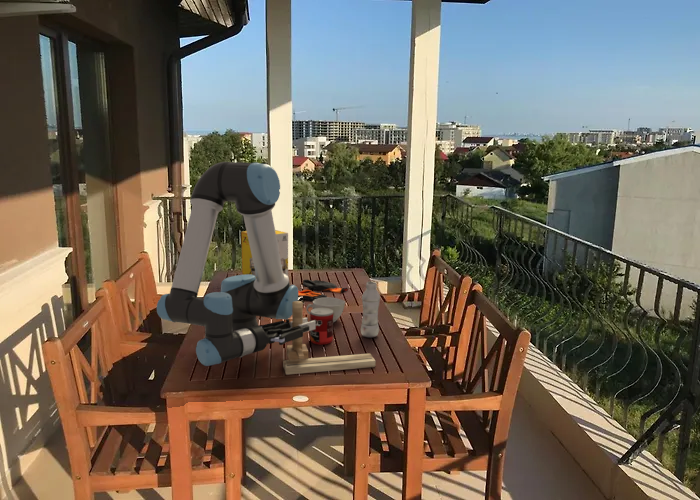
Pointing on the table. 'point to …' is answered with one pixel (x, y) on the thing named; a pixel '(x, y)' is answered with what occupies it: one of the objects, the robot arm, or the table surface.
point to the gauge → (297, 347)
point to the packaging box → (247, 256)
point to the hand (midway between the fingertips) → (310, 323)
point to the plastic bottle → (370, 310)
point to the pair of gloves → (318, 286)
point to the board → (328, 363)
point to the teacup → (329, 305)
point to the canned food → (322, 326)
